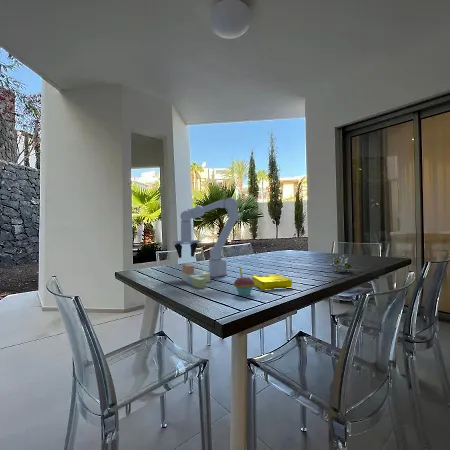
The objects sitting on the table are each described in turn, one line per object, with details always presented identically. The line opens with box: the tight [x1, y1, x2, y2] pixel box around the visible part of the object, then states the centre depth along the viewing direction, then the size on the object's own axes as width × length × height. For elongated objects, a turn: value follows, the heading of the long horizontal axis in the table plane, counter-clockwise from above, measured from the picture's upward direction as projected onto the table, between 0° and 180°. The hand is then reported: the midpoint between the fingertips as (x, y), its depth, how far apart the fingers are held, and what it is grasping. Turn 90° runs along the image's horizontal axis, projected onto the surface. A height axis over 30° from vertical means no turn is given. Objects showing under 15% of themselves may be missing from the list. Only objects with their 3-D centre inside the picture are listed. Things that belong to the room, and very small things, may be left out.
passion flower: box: [329, 254, 356, 270], centre depth 174 cm, size 11×11×12 cm
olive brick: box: [191, 277, 207, 289], centre depth 138 cm, size 6×4×4 cm, turn 42°
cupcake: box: [233, 267, 255, 297], centre depth 123 cm, size 9×8×12 cm
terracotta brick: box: [182, 263, 195, 275], centre depth 150 cm, size 6×4×4 cm, turn 33°
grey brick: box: [181, 272, 195, 283], centre depth 150 cm, size 6×4×4 cm, turn 33°
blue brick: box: [187, 274, 203, 286], centre depth 144 cm, size 6×4×4 cm, turn 135°
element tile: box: [251, 273, 293, 290], centre depth 138 cm, size 15×15×5 cm
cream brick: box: [202, 271, 211, 283], centre depth 151 cm, size 6×4×4 cm, turn 5°
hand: (186, 257), depth 163 cm, fingers open, 7 cm apart
